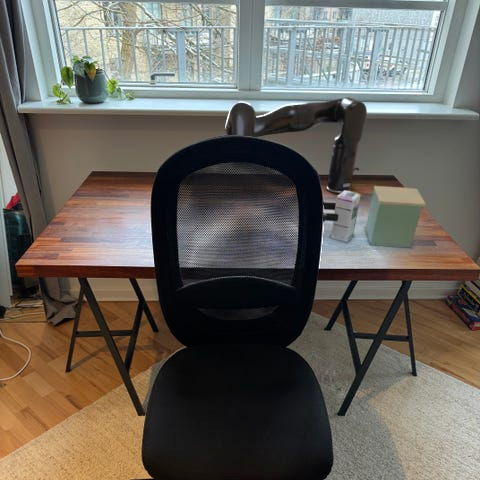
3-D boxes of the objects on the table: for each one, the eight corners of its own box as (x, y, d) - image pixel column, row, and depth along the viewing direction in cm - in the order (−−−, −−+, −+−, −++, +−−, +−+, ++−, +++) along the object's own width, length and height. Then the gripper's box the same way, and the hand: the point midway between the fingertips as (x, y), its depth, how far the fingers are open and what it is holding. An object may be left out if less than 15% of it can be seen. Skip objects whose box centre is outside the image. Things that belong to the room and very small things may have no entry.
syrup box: (347, 242, 145) (355, 199, 136) (329, 237, 147) (336, 194, 139) (353, 236, 149) (361, 193, 140) (336, 231, 151) (343, 189, 143)
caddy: (403, 230, 153) (413, 190, 145) (410, 247, 143) (422, 206, 135) (365, 227, 154) (373, 188, 146) (370, 245, 144) (379, 203, 136)
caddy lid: (416, 190, 145) (416, 188, 145) (425, 206, 135) (425, 204, 135) (373, 188, 146) (374, 185, 145) (379, 203, 136) (380, 201, 135)
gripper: (285, 210, 152) (333, 213, 151) (284, 229, 141) (336, 232, 140) (287, 189, 148) (337, 192, 147) (286, 206, 136) (340, 209, 135)
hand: (336, 211), depth 143 cm, fingers open, 8 cm apart
